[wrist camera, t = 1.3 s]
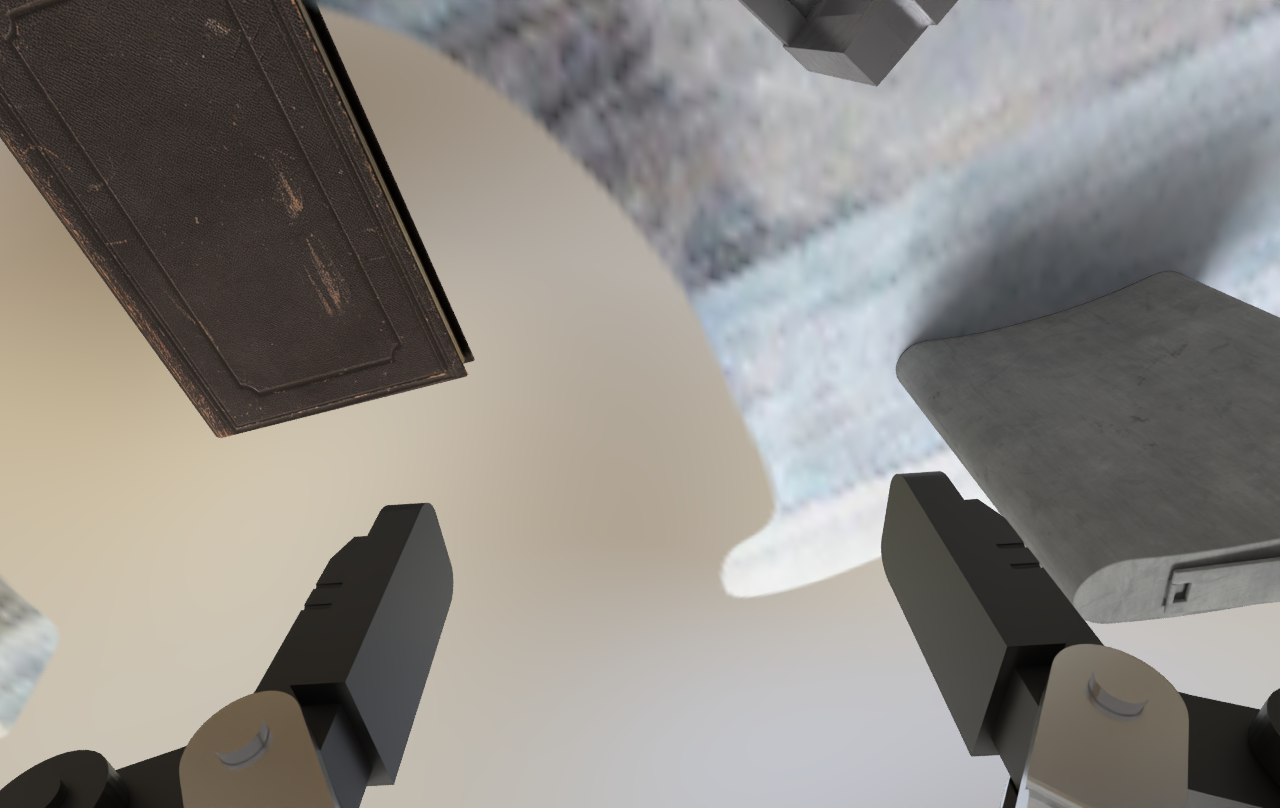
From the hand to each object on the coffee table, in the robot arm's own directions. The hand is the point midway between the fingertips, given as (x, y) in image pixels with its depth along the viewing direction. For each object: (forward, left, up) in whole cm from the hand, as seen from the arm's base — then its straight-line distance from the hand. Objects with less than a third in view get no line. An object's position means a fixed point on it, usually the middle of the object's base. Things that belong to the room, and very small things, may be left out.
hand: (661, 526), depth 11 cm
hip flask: (-8, +23, -25) cm, 34 cm away
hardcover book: (+12, -16, -25) cm, 33 cm away
